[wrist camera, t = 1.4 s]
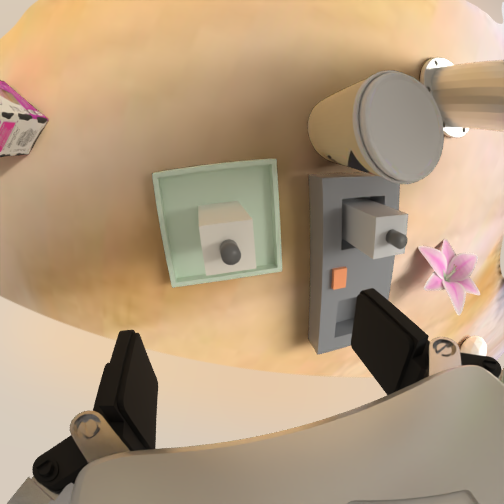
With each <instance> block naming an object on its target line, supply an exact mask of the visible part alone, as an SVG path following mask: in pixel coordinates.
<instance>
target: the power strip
mask: <svg viewBox="0 0 504 504" xmlns="http://www.w3.org/2000/svg"><path fill="white" fill-rule="evenodd" d="M399 191H400V184H398V183H394V182H391V181H388V180H386V179H384V178H383V177H380V176H377V175H373V174H370V173H367V172H361V173H329V174H309V204H310V302H309V330H308V339H309V341H310V343H311V344H312V346H313V348H314V349H315V351H316V353H317V355H318V354H322V353H326V352H329V351H333V350H337V349H340V348H344V347H347V346H350V345H351V337H352V330H353V323H354V316H355V309H356V300H357V296H358V295H359V294H360V292H361V291H362V290H366V289H370V288H374V289H375V290H376V291H378V292H379V293H380V294H381V295H382V296H384V297H385V298H386V299H387V300H388V298H389V292H390V286H391V279H392V272H393V265H394V257H395V255H393V256H388V257H383V258H378V259H372V258H370V257H369V256H368V255H366V254H365V253H363V252H362V251H360V250H359V249H357V248H356V247H354V246H353V245H351V244H350V243H348V242H347V241H345V240H344V239H342V200H345V199H358V198H366V199H369V200H372V201H375V202H377V203H380V204H383V205H386V206H388V207H391V208H394V209H396V210H399Z"/></svg>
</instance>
